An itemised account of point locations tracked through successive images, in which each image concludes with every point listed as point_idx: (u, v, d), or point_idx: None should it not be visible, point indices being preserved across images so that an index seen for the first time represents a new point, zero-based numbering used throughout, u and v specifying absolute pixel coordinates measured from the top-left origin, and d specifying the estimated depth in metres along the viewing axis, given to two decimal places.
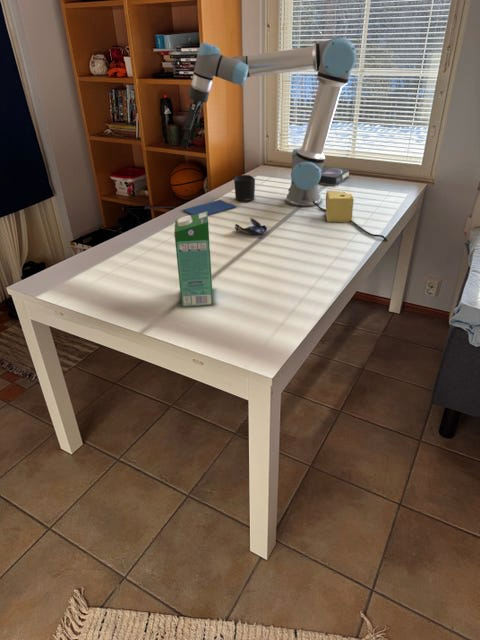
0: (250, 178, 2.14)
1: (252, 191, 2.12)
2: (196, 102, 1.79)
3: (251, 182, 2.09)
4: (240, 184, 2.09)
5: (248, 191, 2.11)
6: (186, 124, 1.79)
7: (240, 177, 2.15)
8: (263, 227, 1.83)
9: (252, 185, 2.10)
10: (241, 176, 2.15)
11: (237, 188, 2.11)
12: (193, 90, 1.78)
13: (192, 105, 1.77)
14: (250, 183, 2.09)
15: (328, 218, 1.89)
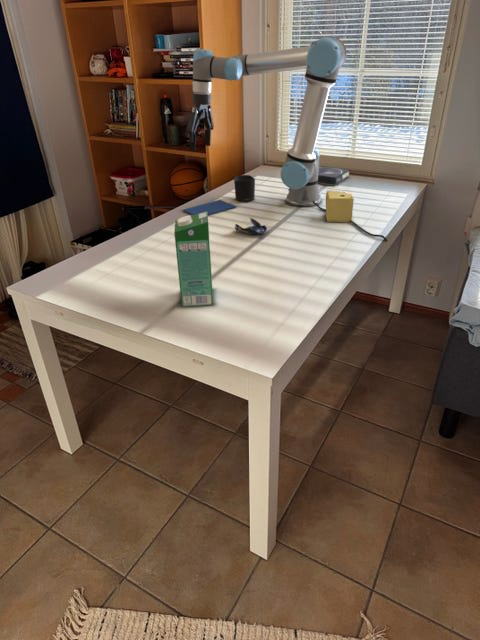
0: (250, 178, 2.14)
1: (252, 191, 2.12)
2: (197, 105, 1.89)
3: (251, 182, 2.09)
4: (240, 184, 2.09)
5: (248, 191, 2.11)
6: (188, 127, 1.89)
7: (240, 177, 2.15)
8: (263, 227, 1.83)
9: (252, 185, 2.10)
10: (241, 176, 2.15)
11: (237, 188, 2.11)
12: (193, 95, 1.89)
13: (192, 108, 1.88)
14: (250, 183, 2.09)
15: (328, 218, 1.89)
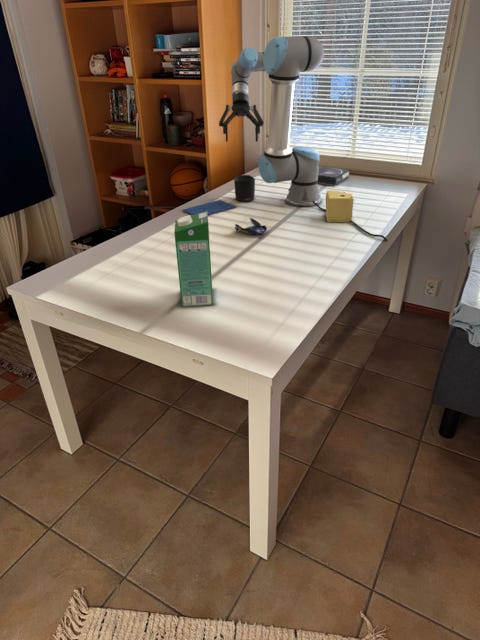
0: (250, 178, 2.14)
1: (252, 191, 2.12)
2: None
3: (251, 182, 2.09)
4: (240, 184, 2.09)
5: (248, 191, 2.11)
6: None
7: (240, 177, 2.15)
8: (263, 227, 1.83)
9: (252, 185, 2.10)
10: (241, 176, 2.15)
11: (237, 188, 2.11)
12: None
13: None
14: (250, 183, 2.09)
15: (328, 218, 1.89)
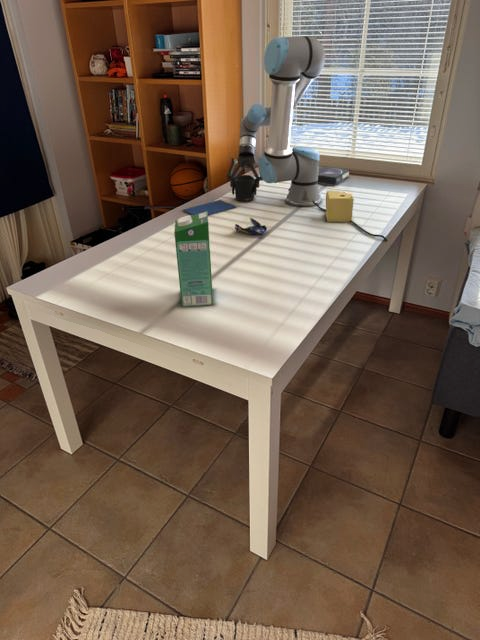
0: (250, 178, 2.14)
1: (252, 191, 2.12)
2: (238, 157, 2.16)
3: (251, 182, 2.09)
4: (240, 184, 2.09)
5: (248, 191, 2.11)
6: None
7: (240, 177, 2.15)
8: (263, 227, 1.83)
9: (252, 185, 2.10)
10: (241, 176, 2.15)
11: (237, 188, 2.11)
12: None
13: None
14: (250, 183, 2.09)
15: (328, 218, 1.89)
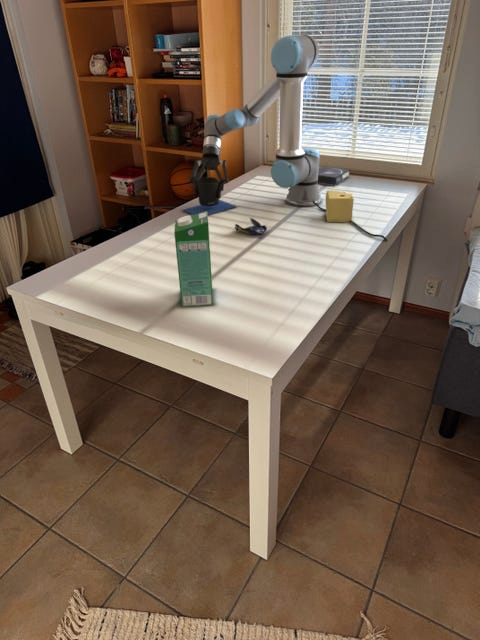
0: (214, 181, 2.03)
1: (216, 195, 2.00)
2: (202, 158, 2.04)
3: (214, 185, 1.97)
4: (203, 187, 1.97)
5: (211, 195, 1.99)
6: None
7: (204, 180, 2.03)
8: (263, 227, 1.83)
9: (216, 188, 1.99)
10: (205, 178, 2.03)
11: (200, 191, 1.99)
12: None
13: None
14: (213, 186, 1.97)
15: (328, 218, 1.89)
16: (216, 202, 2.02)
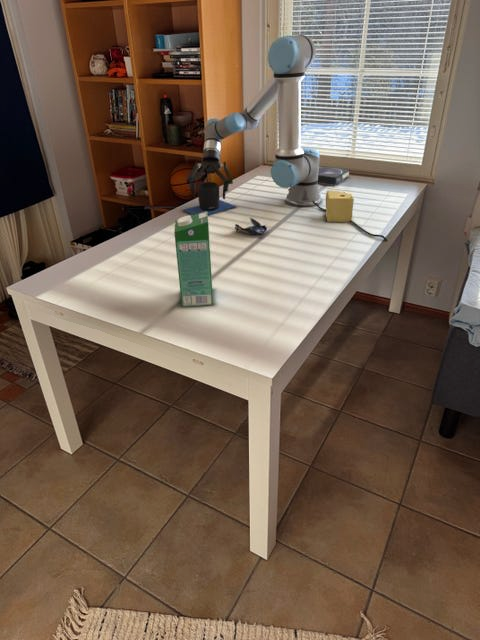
0: (214, 185, 2.04)
1: (216, 199, 2.01)
2: (202, 162, 2.05)
3: (215, 190, 1.99)
4: (203, 192, 1.98)
5: (211, 199, 2.00)
6: None
7: (204, 184, 2.04)
8: (263, 227, 1.83)
9: (216, 193, 2.00)
10: (205, 183, 2.04)
11: (200, 196, 2.00)
12: None
13: None
14: (213, 191, 1.99)
15: (328, 218, 1.89)
16: (216, 206, 2.03)
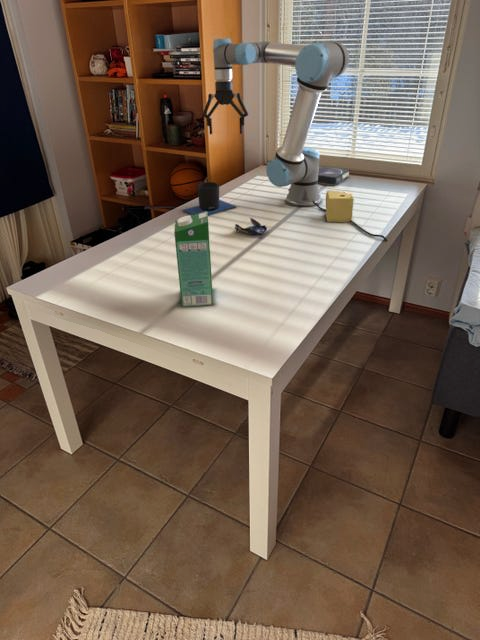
0: (214, 185, 2.04)
1: (216, 199, 2.01)
2: None
3: (215, 190, 1.99)
4: (203, 192, 1.98)
5: (211, 199, 2.00)
6: (204, 111, 2.07)
7: (204, 184, 2.04)
8: (263, 227, 1.83)
9: (216, 193, 2.00)
10: (205, 183, 2.04)
11: (200, 196, 2.00)
12: None
13: (209, 94, 2.03)
14: (213, 191, 1.99)
15: (328, 218, 1.89)
16: (216, 206, 2.03)
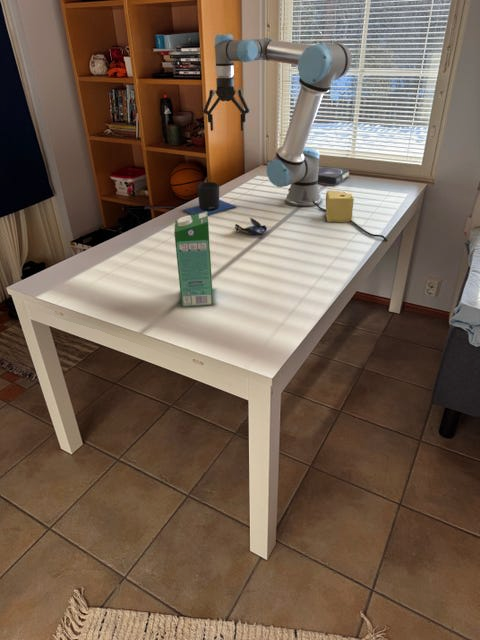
0: (214, 185, 2.04)
1: (216, 199, 2.01)
2: None
3: (215, 190, 1.99)
4: (203, 192, 1.98)
5: (211, 199, 2.00)
6: (205, 107, 2.06)
7: (204, 184, 2.04)
8: (263, 227, 1.83)
9: (216, 193, 2.00)
10: (205, 183, 2.04)
11: (200, 196, 2.00)
12: None
13: (210, 90, 2.02)
14: (213, 191, 1.99)
15: (328, 218, 1.89)
16: (216, 206, 2.03)
